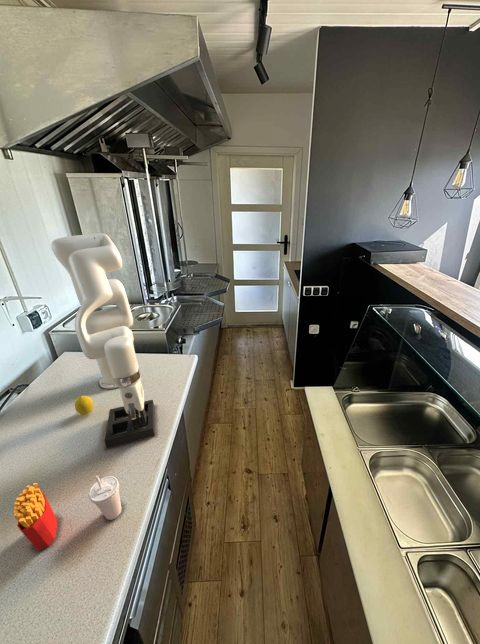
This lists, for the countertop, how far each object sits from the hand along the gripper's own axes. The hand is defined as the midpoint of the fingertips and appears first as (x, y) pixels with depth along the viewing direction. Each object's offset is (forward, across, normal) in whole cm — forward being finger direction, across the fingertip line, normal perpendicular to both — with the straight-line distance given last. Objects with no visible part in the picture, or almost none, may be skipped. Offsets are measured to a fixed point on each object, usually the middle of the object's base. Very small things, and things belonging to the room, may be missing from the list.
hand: (139, 419), depth 94 cm
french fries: (+5, -25, +21) cm, 33 cm away
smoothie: (+5, -26, +6) cm, 27 cm away
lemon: (+5, +15, +19) cm, 25 cm away
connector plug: (+1, 0, 0) cm, 1 cm away
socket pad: (+5, +3, +3) cm, 7 cm away
